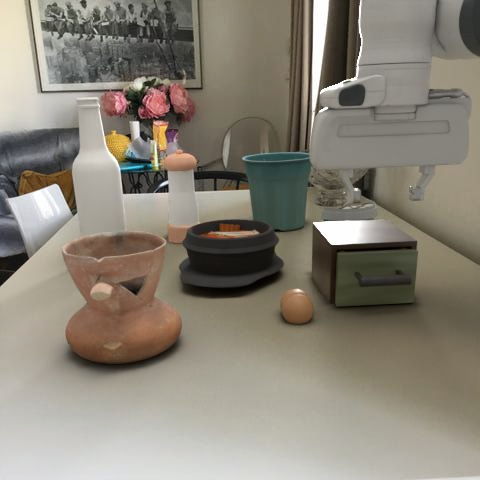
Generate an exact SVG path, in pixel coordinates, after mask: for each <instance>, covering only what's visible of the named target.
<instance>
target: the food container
mask: <svg viewBox="0 0 480 480" xmlns="http://www.w3.org/2000/svg"><path fill="white" fill-rule="evenodd" d="M322 209H323V210H322V211H321V217H320V219H321V220H323V222H339V221H361V220H375V218H376V217H378V214H379V213H378V206H377V205H376V202H375V201H374V200H371V199H368V198H365V199H364V203H362V204H358V205H344V206H340V207H338V208H332V207H325V206H323V208H322Z"/></svg>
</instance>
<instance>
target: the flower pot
mask: <svg viewBox="0 0 480 480" xmlns="http://www.w3.org/2000/svg"><path fill="white" fill-rule="evenodd" d="M241 161H242V162H243V163H244V168H245V175H246V178H247V182H248V189H249V197H250V206H251V213H252V214H251V215H252V220H254V221H260V222H264V223H267V224H270V225H271V226H273V229H274V231H275V230H280V231H281V232H286V231H294V230H298V229H300V228H302V227H304V226H305V223H306V213H307V203H308V202H307V201H308V200H307V199H308V190H309V179H310V174H311V171H312V164H311V162H310V159H309V152H307V153H306V152H294V151H292V152H289V151H283V152H266V153H257V154H252V155H251V154H250V155H245V156H243V157H242V158H241Z"/></svg>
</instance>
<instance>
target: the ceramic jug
mask: <svg viewBox="0 0 480 480" xmlns="http://www.w3.org/2000/svg"><path fill="white" fill-rule="evenodd" d="M166 253H167V240H166V239H165V238H164V237H163V236H161V235H158V234H155V233H151V232H148V231H141V230H137V231H136V230H127V231H115V232H107V233H106V232H102V233H97V234H93V235H87V236H83V237H81V236H80V237H78V238H75V239H71V240H69V241H68V242H66V243H65V244H64V245H63V246H61V254H62V258H63V261H64V265H65V267H66V269H67V271H68V273H69V276H70V278H71V280H72V281H73V283H74V285H75V286H76V288H77V290H78V291H79V292H80V295H81V297H83V298H84V300H85V302H86V303H85V304H84V305H83V306H82V307H81V308H80V309H78V310H77V311H75V313H74V314H73V315H72V316H71V317H70V318H69V320H68V321H67V324H66V327H65V334H64V336H65V340H66V342H67V344H68V345H69V347H70V348H71V350H72V351H73V352H74V353H75V354H76V355H77V356H79V357H81V358H83V359H84V360H88V361H90V362H95V363H101V364H106V365H107V364H108V365H123V364H131V363H135V362H141V361H145V360H147V359H150V358H153V357H156V356H157V355H159V354H162V353H164V352H165V351H166V350H168V349H169V348H171V347H172V346H173V345H174V344H175V343H176V342H177V340H178V339H179V337H180V335H181V332H182V326H183V322H182V318H181V315H180V313H179V312H178V311H177V310H176V309H175V308H174V306H172V305H171V304H169V303H167V302H166V301H164V300H162V299H160V298H158V297H156V296H155V294H156V292H157V288H158V287H159V283H160V280H161V277H162V272H163V268H164V265H165V260H166Z"/></svg>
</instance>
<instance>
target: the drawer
mask: <svg viewBox="0 0 480 480" xmlns="http://www.w3.org/2000/svg"><path fill="white" fill-rule="evenodd" d="M418 259H419V250H418V249H417V250H416V249H407V248H406V247H387V248H366V249H344V250H337V253H336V280H335V303H334V304H335V306H336V307H337V308H338V307H354V306H355V307H356V306H373V305H374V306H375V305H392V304H393V305H395V304H412V303H414V301H415V293H416V292H415V291H416V281H417V269H418Z"/></svg>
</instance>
